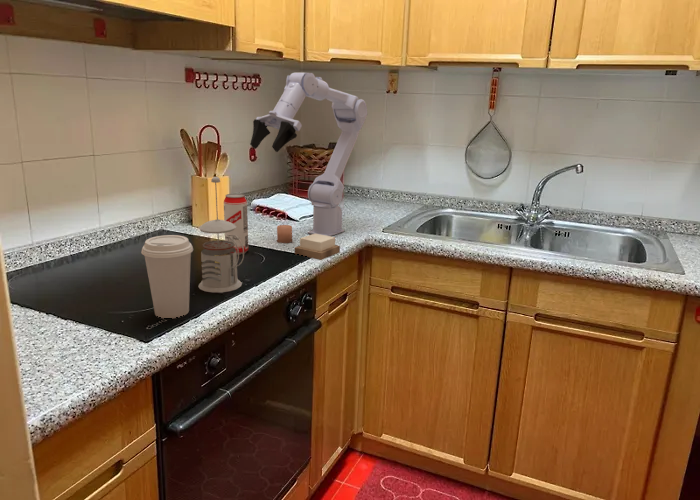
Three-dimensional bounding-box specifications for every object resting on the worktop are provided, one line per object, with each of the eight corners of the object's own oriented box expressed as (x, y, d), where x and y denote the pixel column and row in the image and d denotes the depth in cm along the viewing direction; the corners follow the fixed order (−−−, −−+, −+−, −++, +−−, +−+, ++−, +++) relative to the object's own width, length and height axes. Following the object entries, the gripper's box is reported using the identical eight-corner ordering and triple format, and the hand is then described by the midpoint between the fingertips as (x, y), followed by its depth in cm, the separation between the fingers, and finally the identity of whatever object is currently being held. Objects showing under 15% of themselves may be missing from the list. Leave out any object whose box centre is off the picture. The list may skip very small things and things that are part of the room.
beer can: (243, 256, 145) (241, 198, 140) (221, 254, 146) (219, 196, 141) (252, 250, 150) (250, 193, 146) (231, 248, 152) (229, 192, 147)
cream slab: (314, 241, 154) (315, 233, 153) (335, 246, 150) (335, 237, 149) (299, 247, 148) (299, 238, 147) (320, 251, 144) (320, 242, 144)
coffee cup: (136, 316, 105) (129, 242, 101) (170, 300, 114) (165, 231, 109) (174, 325, 102) (169, 249, 97) (206, 308, 110) (203, 237, 106)
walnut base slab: (313, 248, 156) (313, 240, 155) (339, 254, 151) (339, 245, 150) (294, 256, 148) (294, 247, 148) (321, 262, 144) (321, 253, 143)
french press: (219, 275, 130) (215, 172, 123) (256, 284, 124) (254, 177, 117) (188, 286, 122) (182, 177, 115) (227, 297, 116) (222, 182, 109)
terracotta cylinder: (283, 238, 163) (283, 224, 162) (295, 240, 161) (295, 226, 160) (274, 241, 160) (274, 226, 158) (285, 244, 157) (285, 229, 156)
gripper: (259, 96, 146) (235, 135, 141) (301, 99, 138) (277, 140, 134) (271, 114, 151) (249, 152, 147) (312, 118, 144) (290, 158, 139)
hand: (263, 147), depth 141 cm, fingers open, 7 cm apart
